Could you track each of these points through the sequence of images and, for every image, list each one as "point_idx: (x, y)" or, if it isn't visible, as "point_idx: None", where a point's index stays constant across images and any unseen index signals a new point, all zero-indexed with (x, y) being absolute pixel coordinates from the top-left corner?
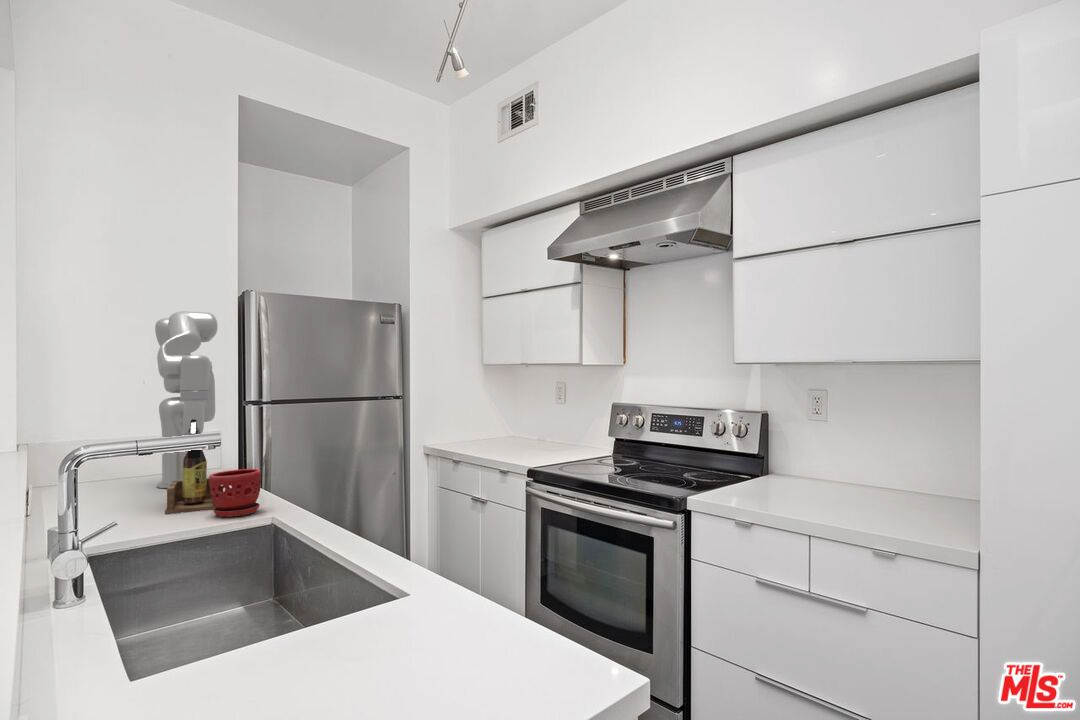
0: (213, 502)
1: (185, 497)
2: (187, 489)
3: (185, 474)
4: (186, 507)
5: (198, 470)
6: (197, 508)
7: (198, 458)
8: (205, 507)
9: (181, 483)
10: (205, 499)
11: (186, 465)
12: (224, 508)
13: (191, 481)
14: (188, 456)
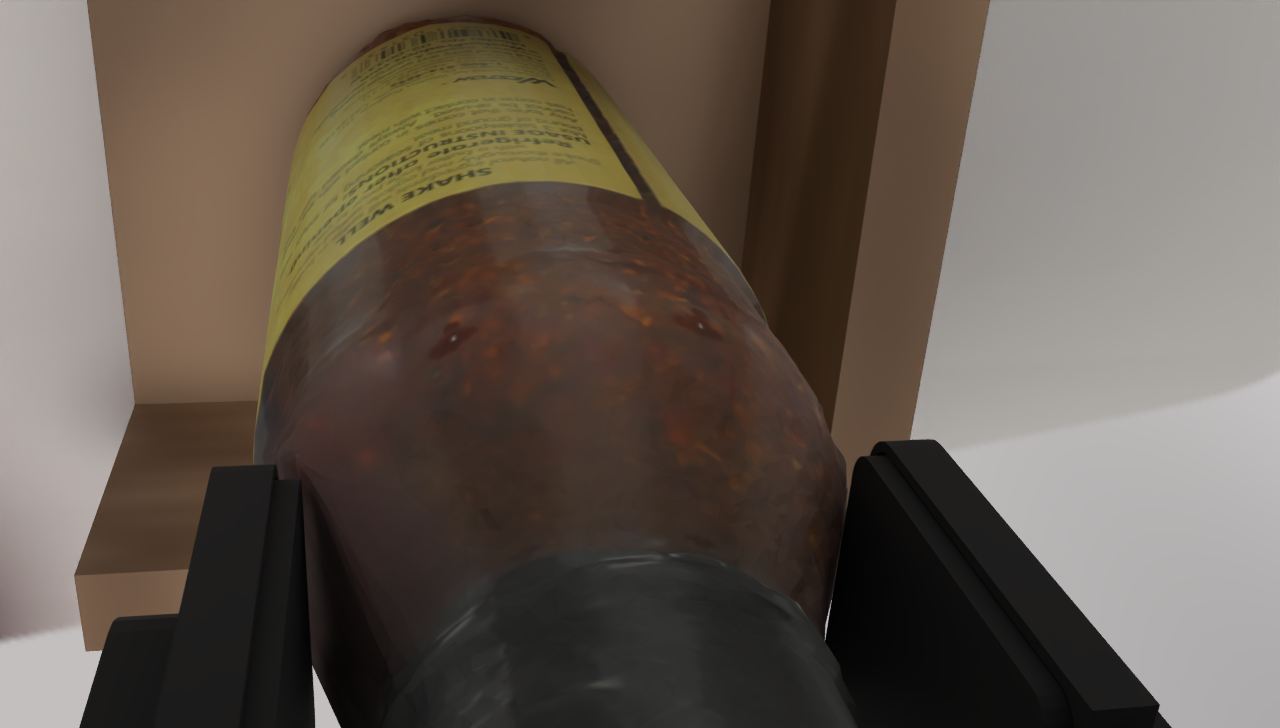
0: (126, 433)
1: (337, 76)
2: (306, 146)
3: (346, 200)
4: (197, 67)
5: None
6: (112, 213)
7: (318, 673)
8: (128, 312)
9: (876, 22)
10: None
11: (338, 306)
12: None
13: (277, 265)
14: (205, 504)
